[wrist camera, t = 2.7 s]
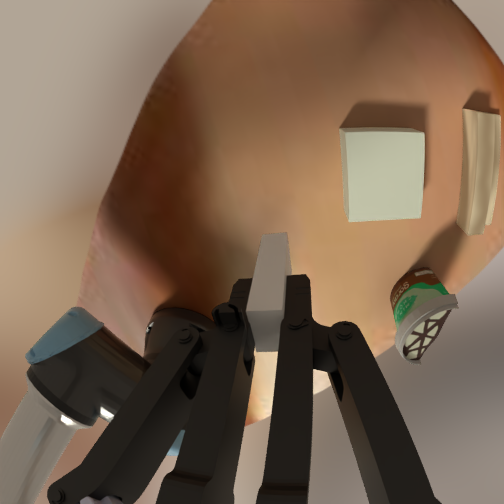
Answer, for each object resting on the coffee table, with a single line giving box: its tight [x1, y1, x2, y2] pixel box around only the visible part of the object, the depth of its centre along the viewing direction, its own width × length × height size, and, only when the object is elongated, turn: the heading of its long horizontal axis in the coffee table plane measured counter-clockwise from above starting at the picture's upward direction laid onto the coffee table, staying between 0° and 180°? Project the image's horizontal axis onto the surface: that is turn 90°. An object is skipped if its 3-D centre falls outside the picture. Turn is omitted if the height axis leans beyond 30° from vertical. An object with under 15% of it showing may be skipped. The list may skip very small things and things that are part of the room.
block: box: [339, 127, 425, 222], centre depth 28 cm, size 9×10×4 cm
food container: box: [390, 268, 459, 365], centre depth 34 cm, size 12×6×10 cm, turn 176°
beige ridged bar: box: [456, 108, 501, 235], centre depth 25 cm, size 6×16×4 cm, turn 10°
